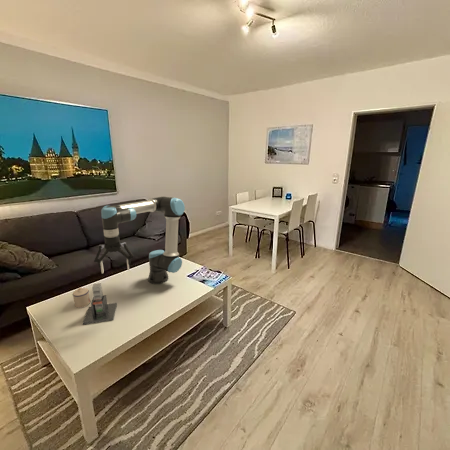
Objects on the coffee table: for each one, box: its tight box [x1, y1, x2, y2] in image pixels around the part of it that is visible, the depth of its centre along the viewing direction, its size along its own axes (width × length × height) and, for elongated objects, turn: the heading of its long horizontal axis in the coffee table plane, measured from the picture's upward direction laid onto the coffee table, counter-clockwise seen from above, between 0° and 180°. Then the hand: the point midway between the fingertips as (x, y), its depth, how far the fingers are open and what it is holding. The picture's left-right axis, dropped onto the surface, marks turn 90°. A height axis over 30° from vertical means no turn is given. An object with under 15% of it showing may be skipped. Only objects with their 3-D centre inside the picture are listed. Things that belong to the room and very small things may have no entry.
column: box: [91, 282, 104, 314], centre depth 147 cm, size 5×4×18 cm
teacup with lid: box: [72, 287, 91, 309], centre depth 159 cm, size 12×9×12 cm
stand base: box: [82, 294, 118, 326], centre depth 149 cm, size 16×16×10 cm
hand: (115, 270), depth 142 cm, fingers open, 13 cm apart
